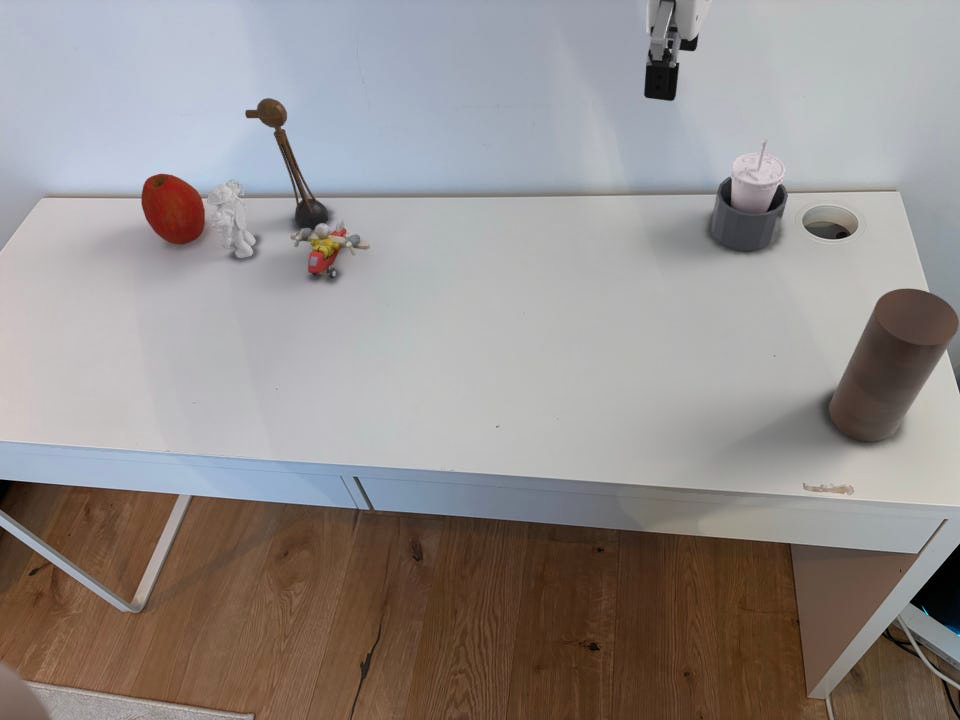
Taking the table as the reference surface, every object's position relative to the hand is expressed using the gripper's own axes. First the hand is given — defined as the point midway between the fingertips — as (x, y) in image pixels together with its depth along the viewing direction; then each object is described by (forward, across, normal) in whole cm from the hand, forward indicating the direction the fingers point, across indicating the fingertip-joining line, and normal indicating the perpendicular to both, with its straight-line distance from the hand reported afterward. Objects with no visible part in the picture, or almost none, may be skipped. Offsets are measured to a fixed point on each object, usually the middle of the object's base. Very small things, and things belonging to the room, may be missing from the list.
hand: (671, 72), depth 78 cm
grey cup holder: (+24, +5, -11) cm, 27 cm away
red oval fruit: (+24, -17, +66) cm, 73 cm away
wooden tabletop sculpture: (+24, -9, +49) cm, 56 cm away
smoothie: (+24, +5, -11) cm, 27 cm away
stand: (+24, -20, -28) cm, 42 cm away
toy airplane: (+24, -15, +41) cm, 50 cm away
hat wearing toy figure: (+24, -17, +55) cm, 63 cm away
